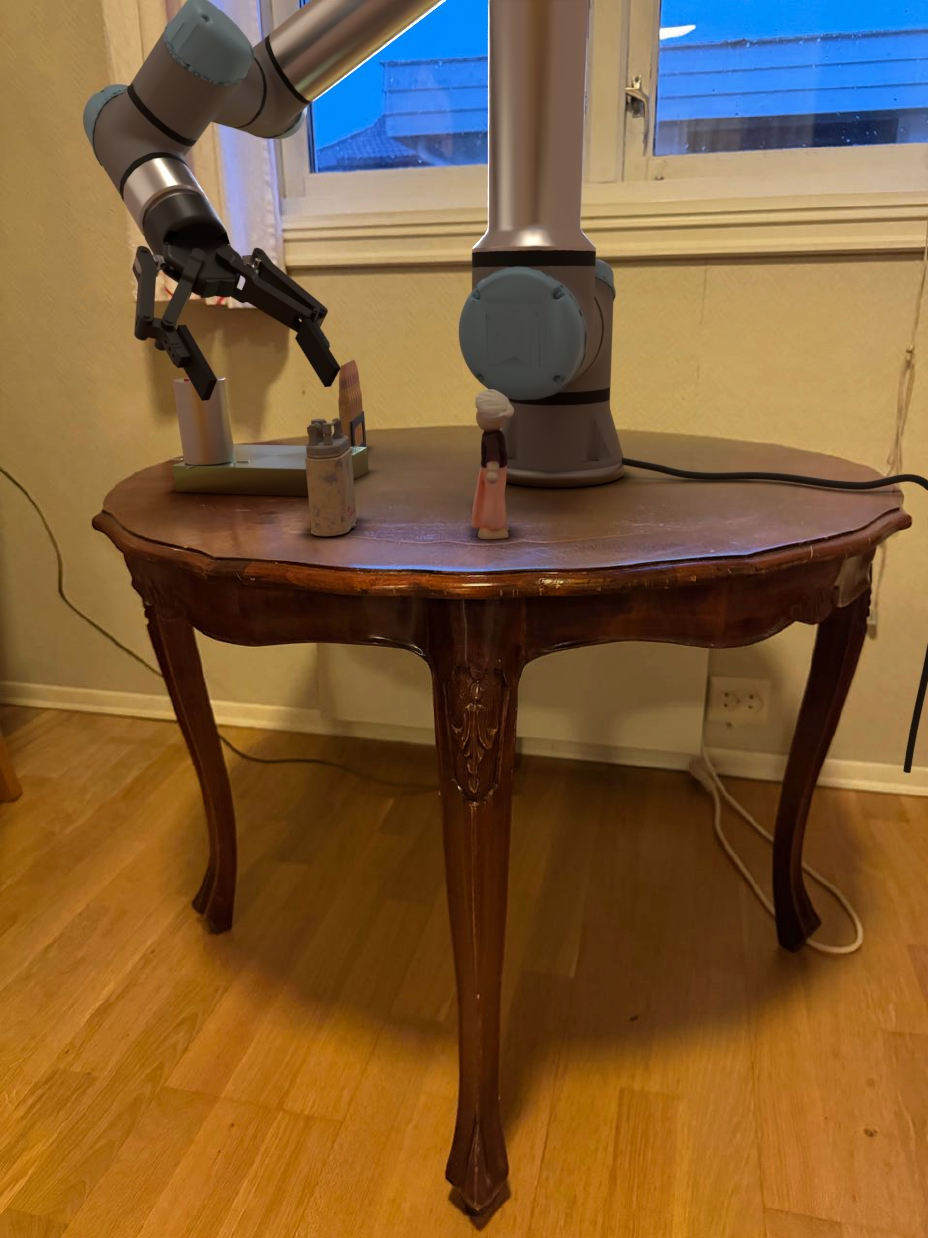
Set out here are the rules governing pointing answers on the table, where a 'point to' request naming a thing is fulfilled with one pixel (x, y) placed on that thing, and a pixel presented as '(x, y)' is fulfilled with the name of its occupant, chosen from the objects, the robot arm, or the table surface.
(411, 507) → the table surface
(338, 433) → the lighter
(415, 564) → the table surface
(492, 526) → the grandmother figurine
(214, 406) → the grey metal cylinder
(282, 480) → the panel
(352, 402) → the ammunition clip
